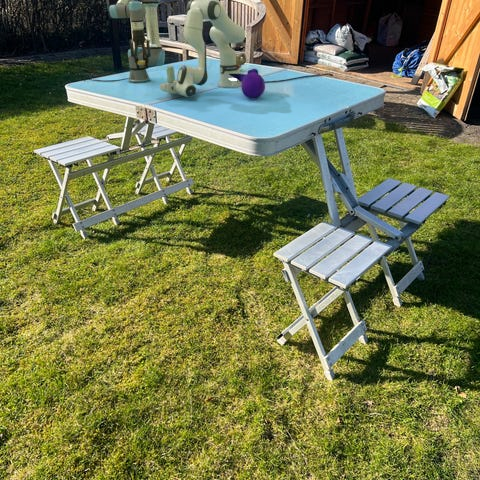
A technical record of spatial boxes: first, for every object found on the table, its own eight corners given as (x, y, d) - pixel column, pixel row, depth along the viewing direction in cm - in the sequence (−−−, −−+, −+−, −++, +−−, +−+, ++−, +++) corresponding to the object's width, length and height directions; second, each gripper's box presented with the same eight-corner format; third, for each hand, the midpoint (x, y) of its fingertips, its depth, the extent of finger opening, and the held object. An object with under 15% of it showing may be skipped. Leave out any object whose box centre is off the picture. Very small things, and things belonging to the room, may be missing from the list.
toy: (250, 90, 302) (265, 104, 282) (225, 86, 295) (239, 99, 274) (256, 66, 294) (272, 78, 274) (231, 61, 287) (246, 73, 266)
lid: (144, 63, 295) (143, 60, 294) (148, 64, 291) (147, 61, 290) (136, 64, 292) (135, 61, 291) (140, 65, 288) (139, 62, 287)
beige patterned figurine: (226, 73, 360) (225, 53, 353) (219, 71, 369) (219, 51, 361) (249, 70, 370) (249, 50, 362) (242, 68, 378) (241, 49, 371)
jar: (175, 94, 298) (172, 67, 289) (168, 94, 299) (165, 67, 290) (176, 92, 302) (174, 65, 294) (169, 92, 303) (167, 66, 294)
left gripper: (121, 30, 280) (127, 69, 291) (149, 29, 277) (154, 69, 288) (126, 28, 286) (131, 67, 298) (153, 28, 283) (158, 67, 295)
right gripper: (194, 79, 291) (184, 76, 301) (165, 83, 281) (156, 80, 292) (194, 89, 294) (185, 86, 304) (166, 93, 285) (157, 90, 295)
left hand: (142, 68), depth 293 cm, fingers closed on lid, 5 cm apart
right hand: (171, 83), depth 298 cm, fingers closed on jar, 5 cm apart
